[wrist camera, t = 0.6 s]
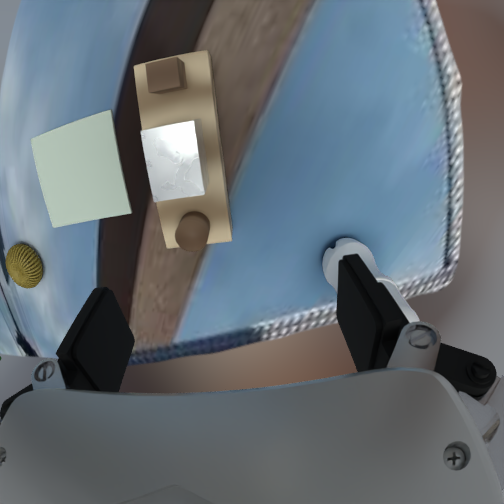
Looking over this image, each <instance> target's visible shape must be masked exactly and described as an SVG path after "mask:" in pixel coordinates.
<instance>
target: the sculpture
mask: <svg viewBox="0 0 504 504" xmlns="http://www.w3.org/2000/svg"><path fill="white" fill-rule="evenodd" d="M35 255H36V252H35V251H34V250H33V249H32V248H30V247H29V246H27V245H24V244H16V245H14V246H13V247H11V248H10V249H9V251H8V253H7V256H6V267H7V271H8V273H9V275H10V277H11V278H12V277H13V278H12V279H13V280H14V282H16V284H18V285H19V286H21V287H24V288H33V287H35V286H37V285H38V283H39V282H40V280H41V278H42V274H43V272H42V271H43V268H42V264H41V261H40V258H38V257H39V256H38V255H36V256H35ZM34 256H35V257H34Z"/></svg>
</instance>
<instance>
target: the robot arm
mask: <svg viewBox="0 0 504 504" xmlns="http://www.w3.org/2000/svg"><path fill="white" fill-rule="evenodd" d="M337 320H338V323H339V325H340V328H341V330H342V333H343V335H344V338H345V340H346V342H347V345H348V348H349V350H350V353H351V356H352V358H353V361H354V363H355V366H356V369H357V371H358V372H357V373H351V374H345V375H340V376H335V377H330V378H324V379H319V380H312V381H305V382H299V383H292V384H286V385H278V386H271V387H262V388H252V389H242V390H230V391H217V392H198V393H120V392H119V389H120V386H121V383H122V379H123V376H124V373H125V370H126V367H127V364H128V361H129V358H130V355H131V352H132V349H133V346H134V342H135V340H134V336H133V334H132V332H131V330H130V328H129V326H128V324H127V322H126V319H125V317H124V315H123V313H122V311H121V309H120V307H119V304H118V302H117V300H116V298H115V296H114V293H113V291H112V290H109V289H108V288H107V287H101V288H95V289H94V290H93V291H92V293H91V294H90V296H89V297H88V299H87V301H86V302H85V304H84V305H83V307H82V309H81V310H80V312H79V313H78V315H77V317H76V318H75V320H74V322H73V324H72V325H71V327H70V329H69V330H68V332H67V334H66V336H65V337H64V339H63V341H62V343H61V345H60V346H59V348H58V350H57V352H56V355H57V356H58V357H59V359H58V361H56V360H55V359H52V358H49V359H45V360H43V361H41V362H40V363H38V364H37V365H36V366H35V368H34V369H33V371H32V374H31V379H32V384H30V385H29V386H27V387H26V388H24V389H22V390H21V391H19V392H18V393H16V394H15V395H13V396H11V397H10V398H9V399H7V400H6V401H4V403H3V404H2V407H1V411H0V417H1V418H0V504H504V497H503V493H502V490H503V488H504V376H502V377H501V378H499V377H498V376H496V369H495V366H494V365H493V364H492V362H491V361H489V360H488V359H487V358H485V357H482V356H479V355H476V354H473V353H470V352H467V351H464V350H461V349H458V348H455V347H452V346H449V345H446V344H443V343H441V335H440V333H439V331H438V330H437V329H436V328H435V327H434V326H433V325H431V324H429V323H426V322H420V321H417V322H412V323H410V322H409V321H408V319H407V318H406V316H405V315H404V313H403V312H402V310H401V309H400V307H399V306H398V304H397V303H396V301H395V300H394V298H393V297H392V295H391V294H390V292H389V291H388V289H387V288H386V287H385V285H384V284H383V283H382V282H377V280H376V279H375V277H374V276H373V274H372V273H371V271H370V270H369V269H368V267H367V266H366V264H365V263H364V261H363V260H362V259H361V257H360V256H359V255H358V254H357V253H356V254H350V255H344V256H343V259H341V260H339V262H338V291H337Z"/></svg>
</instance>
